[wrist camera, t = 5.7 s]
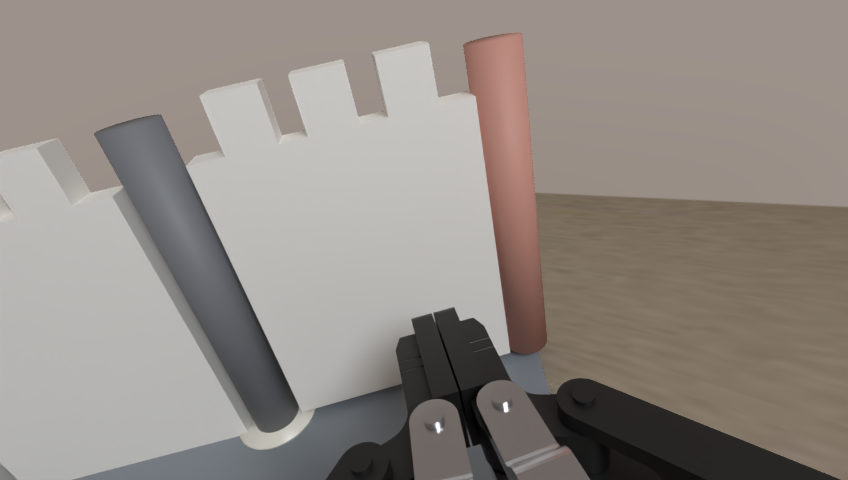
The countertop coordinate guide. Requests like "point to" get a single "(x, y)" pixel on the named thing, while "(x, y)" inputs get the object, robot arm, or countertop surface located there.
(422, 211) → the hinged fence panel
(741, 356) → the countertop surface
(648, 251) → the countertop surface
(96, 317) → the fixed fence panel
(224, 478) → the card
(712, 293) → the countertop surface
